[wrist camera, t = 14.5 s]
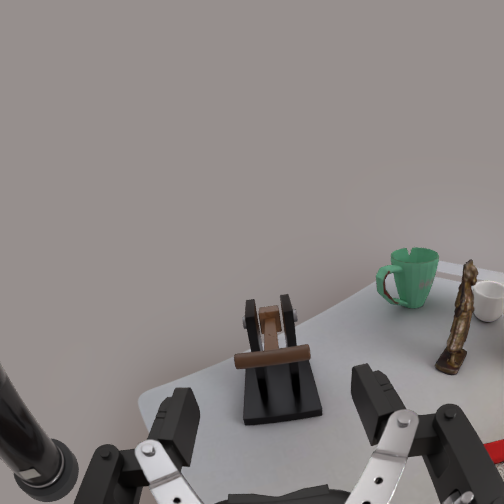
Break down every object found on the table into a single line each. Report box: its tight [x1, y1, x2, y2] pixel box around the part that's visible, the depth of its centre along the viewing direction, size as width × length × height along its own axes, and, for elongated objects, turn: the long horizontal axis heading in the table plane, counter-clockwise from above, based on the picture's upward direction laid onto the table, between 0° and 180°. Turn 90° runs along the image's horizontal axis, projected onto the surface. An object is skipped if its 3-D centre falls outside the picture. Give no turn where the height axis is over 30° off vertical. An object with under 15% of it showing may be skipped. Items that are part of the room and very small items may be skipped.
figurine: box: [435, 260, 478, 375], centre depth 26 cm, size 7×4×15 cm, turn 123°
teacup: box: [473, 280, 504, 322], centre depth 34 cm, size 10×8×5 cm
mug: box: [376, 248, 439, 308], centre depth 45 cm, size 15×10×10 cm
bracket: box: [243, 294, 322, 425], centre depth 31 cm, size 12×9×13 cm
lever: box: [234, 305, 311, 369], centre depth 25 cm, size 13×6×2 cm, turn 179°
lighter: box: [483, 439, 504, 464], centre depth 12 cm, size 3×1×8 cm
